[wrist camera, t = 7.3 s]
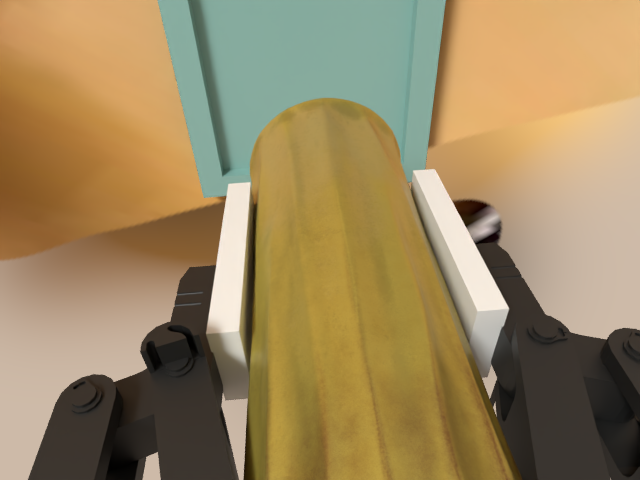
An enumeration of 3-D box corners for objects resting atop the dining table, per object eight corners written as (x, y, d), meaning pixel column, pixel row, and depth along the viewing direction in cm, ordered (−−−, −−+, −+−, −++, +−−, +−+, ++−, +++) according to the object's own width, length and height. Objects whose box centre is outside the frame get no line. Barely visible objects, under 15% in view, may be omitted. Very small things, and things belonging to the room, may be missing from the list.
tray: (206, 185, 32) (203, 197, 31) (148, -73, 23) (141, -70, 22) (418, 170, 33) (423, 181, 32) (447, -88, 23) (456, -86, 22)
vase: (218, 152, 18) (128, 597, 7) (350, 61, 16) (513, 467, 5) (305, 248, 22) (339, 650, 10) (424, 181, 20) (616, 582, 9)
